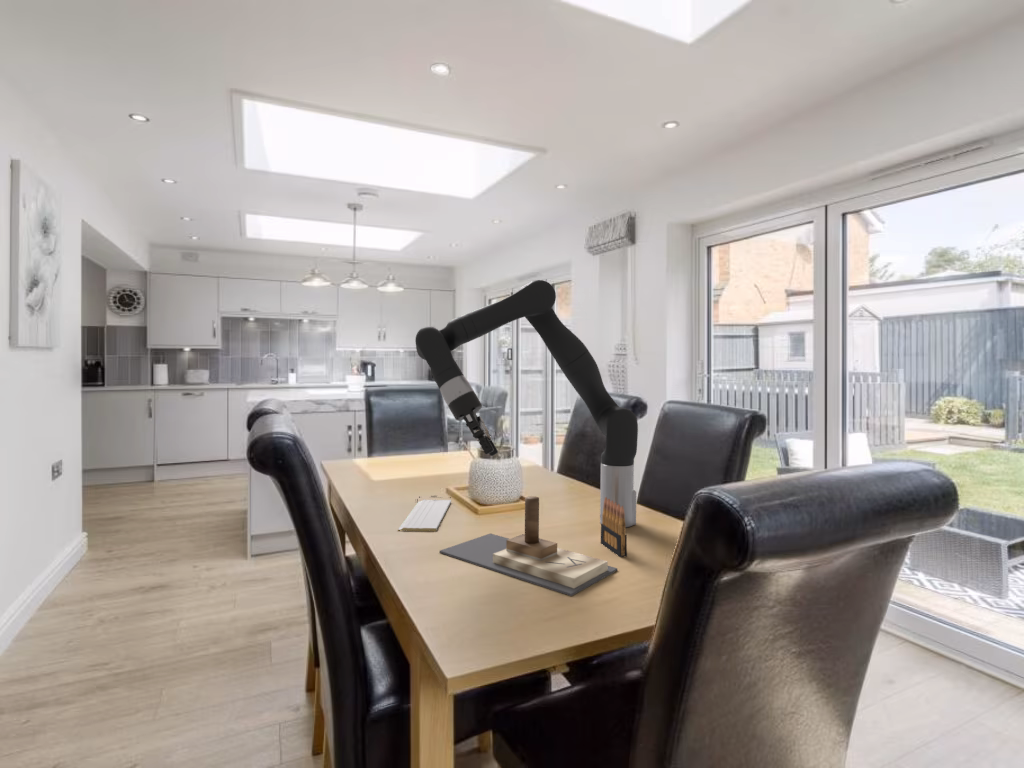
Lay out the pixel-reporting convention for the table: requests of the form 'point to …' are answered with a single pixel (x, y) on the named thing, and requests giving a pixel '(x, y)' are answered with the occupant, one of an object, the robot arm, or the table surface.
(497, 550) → the rubber mat
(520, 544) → the sanding block
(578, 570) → the pine board
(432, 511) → the baseboard molding
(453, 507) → the table surface
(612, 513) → the ammunition clip
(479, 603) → the table surface
